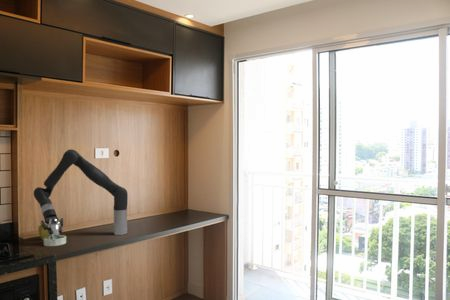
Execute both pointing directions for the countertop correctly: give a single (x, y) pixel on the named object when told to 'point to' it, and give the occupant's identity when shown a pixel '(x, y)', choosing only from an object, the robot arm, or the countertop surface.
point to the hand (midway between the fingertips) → (56, 233)
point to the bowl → (55, 241)
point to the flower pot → (43, 232)
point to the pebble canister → (54, 231)
